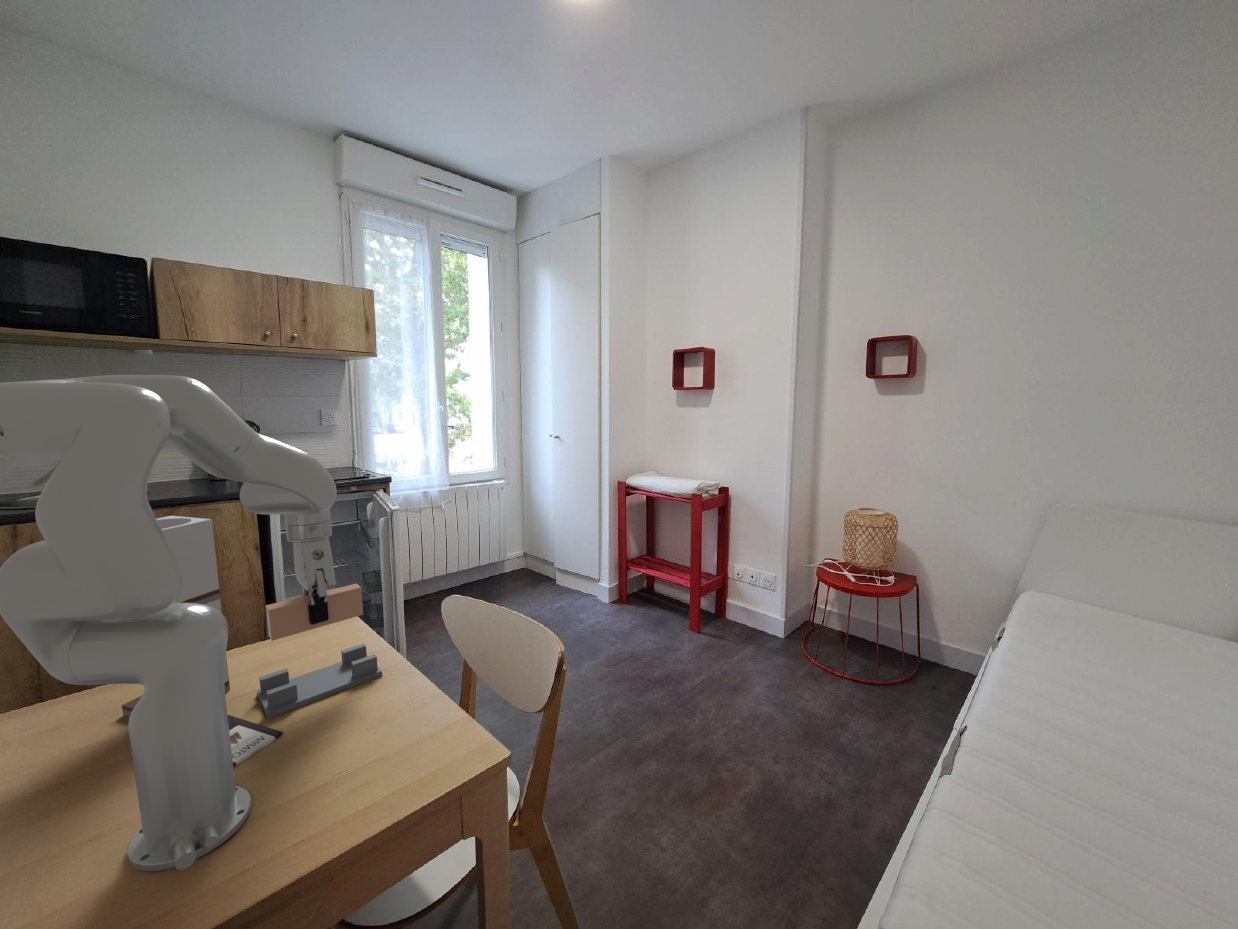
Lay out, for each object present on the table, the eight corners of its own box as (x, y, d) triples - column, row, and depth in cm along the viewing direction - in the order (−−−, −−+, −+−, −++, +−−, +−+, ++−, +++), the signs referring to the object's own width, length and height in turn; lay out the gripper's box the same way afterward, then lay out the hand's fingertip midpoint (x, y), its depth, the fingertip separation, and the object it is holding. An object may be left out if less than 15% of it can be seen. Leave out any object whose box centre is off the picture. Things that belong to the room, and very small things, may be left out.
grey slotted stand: (382, 675, 104) (381, 657, 103) (267, 718, 90) (265, 698, 89) (365, 658, 111) (364, 641, 110) (257, 695, 97) (255, 676, 96)
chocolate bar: (212, 710, 91) (282, 732, 85) (213, 714, 91) (283, 737, 86) (153, 741, 83) (226, 768, 77) (154, 747, 83) (227, 774, 77)
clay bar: (363, 614, 103) (361, 587, 103) (271, 640, 92) (268, 610, 91) (358, 610, 105) (356, 583, 105) (268, 635, 94) (265, 605, 93)
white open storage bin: (191, 681, 101) (171, 515, 97) (230, 689, 99) (211, 519, 94) (123, 715, 90) (97, 530, 86) (164, 725, 88) (140, 534, 83)
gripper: (343, 534, 93) (350, 626, 95) (319, 519, 104) (325, 601, 107) (297, 542, 88) (306, 639, 90) (276, 525, 99) (284, 612, 102)
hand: (316, 618), depth 98 cm, fingers closed on clay bar, 3 cm apart
